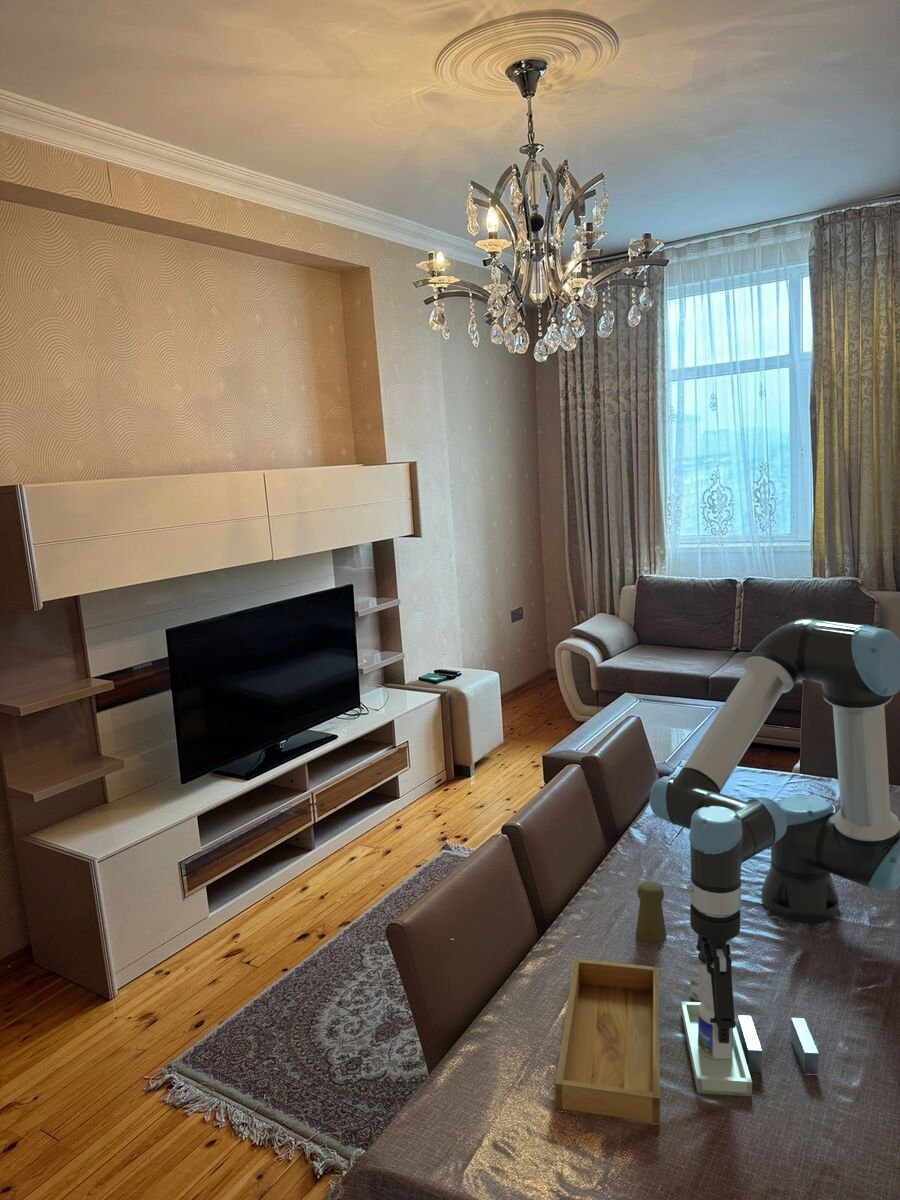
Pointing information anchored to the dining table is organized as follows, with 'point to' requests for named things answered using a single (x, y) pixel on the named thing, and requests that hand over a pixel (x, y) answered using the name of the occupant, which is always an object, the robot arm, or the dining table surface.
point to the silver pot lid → (695, 990)
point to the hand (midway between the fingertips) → (714, 1026)
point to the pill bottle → (707, 1025)
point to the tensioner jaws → (799, 1039)
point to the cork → (650, 913)
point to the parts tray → (715, 1061)
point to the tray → (611, 1043)
